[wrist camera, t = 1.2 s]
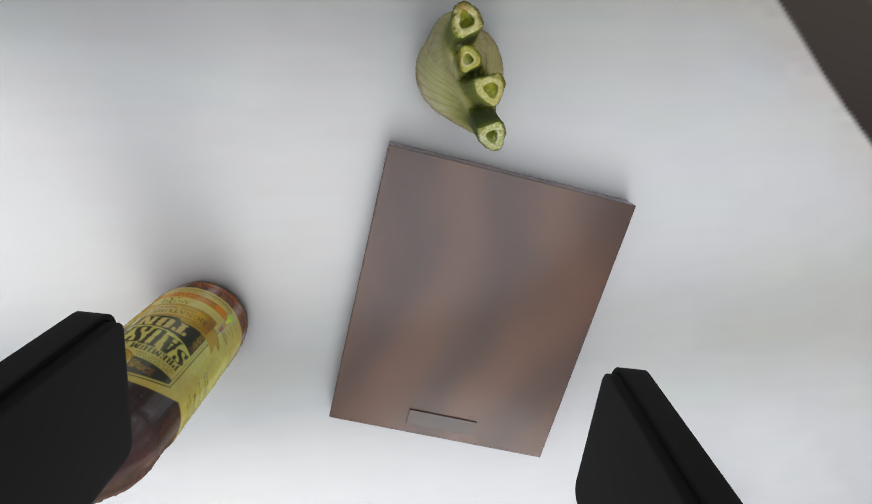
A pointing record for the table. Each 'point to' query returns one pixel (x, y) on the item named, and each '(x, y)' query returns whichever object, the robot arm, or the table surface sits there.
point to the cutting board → (474, 300)
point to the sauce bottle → (174, 368)
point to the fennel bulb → (463, 74)
